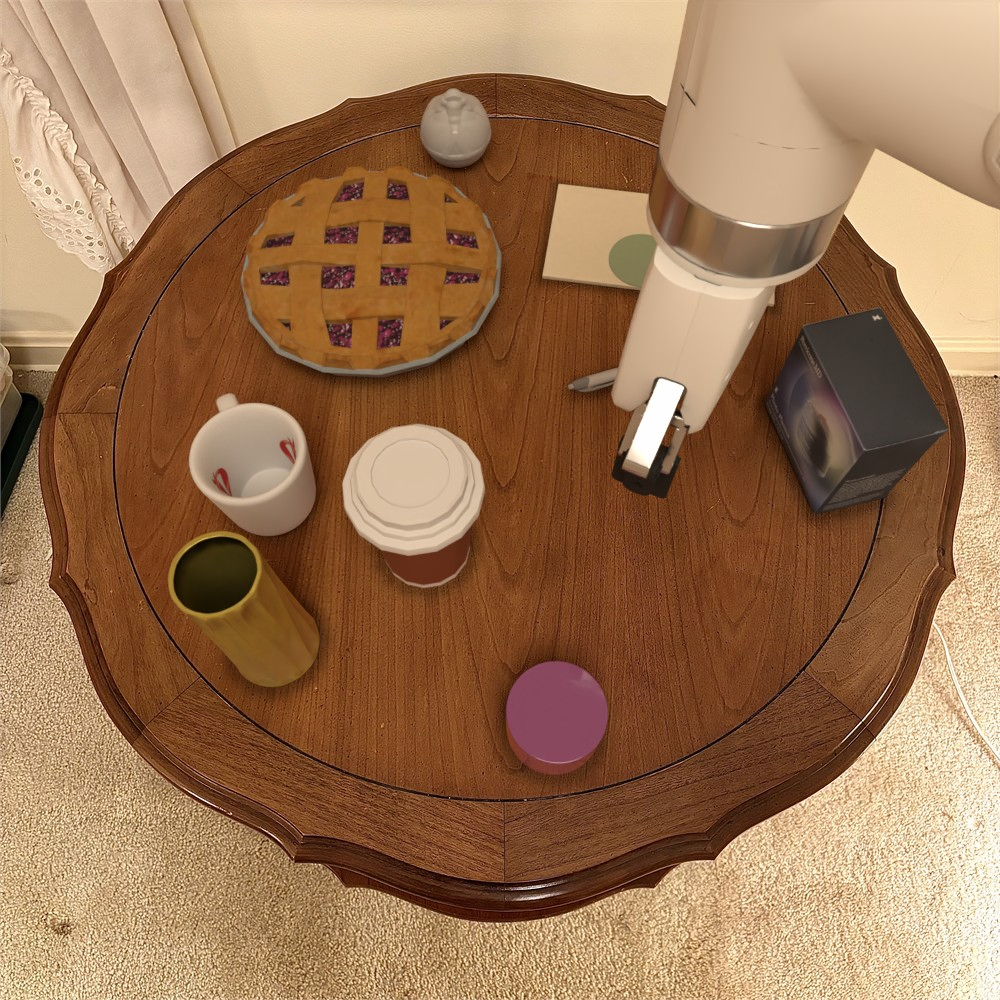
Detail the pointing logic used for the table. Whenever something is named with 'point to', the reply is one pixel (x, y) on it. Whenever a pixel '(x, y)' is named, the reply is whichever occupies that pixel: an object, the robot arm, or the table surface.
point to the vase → (244, 608)
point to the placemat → (600, 238)
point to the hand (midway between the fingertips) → (670, 416)
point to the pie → (371, 272)
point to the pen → (594, 381)
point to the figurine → (455, 129)
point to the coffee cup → (416, 500)
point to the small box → (851, 410)
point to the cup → (254, 466)
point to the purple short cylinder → (555, 717)
